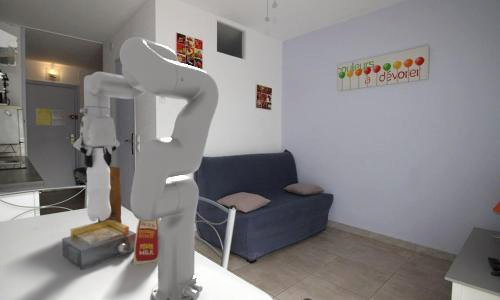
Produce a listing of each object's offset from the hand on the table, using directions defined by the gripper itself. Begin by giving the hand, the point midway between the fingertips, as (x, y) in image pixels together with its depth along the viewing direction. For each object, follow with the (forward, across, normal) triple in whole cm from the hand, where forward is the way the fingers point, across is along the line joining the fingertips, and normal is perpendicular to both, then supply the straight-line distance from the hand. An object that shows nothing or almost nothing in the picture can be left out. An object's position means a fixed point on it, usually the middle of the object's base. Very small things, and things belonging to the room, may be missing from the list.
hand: (98, 165), depth 91 cm
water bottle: (+19, 0, 0) cm, 19 cm away
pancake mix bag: (+31, +12, +20) cm, 39 cm away
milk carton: (+31, +9, -16) cm, 36 cm away
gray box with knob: (+31, 0, -2) cm, 31 cm away
